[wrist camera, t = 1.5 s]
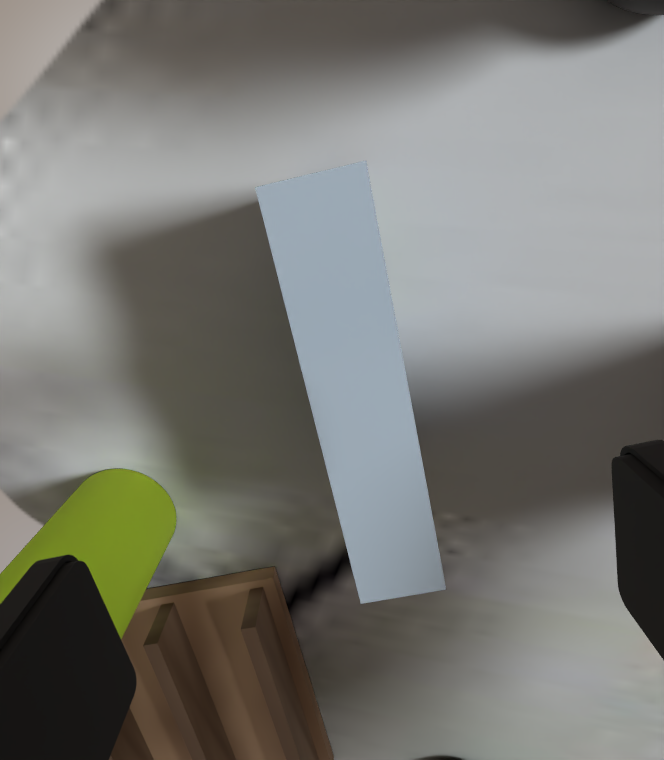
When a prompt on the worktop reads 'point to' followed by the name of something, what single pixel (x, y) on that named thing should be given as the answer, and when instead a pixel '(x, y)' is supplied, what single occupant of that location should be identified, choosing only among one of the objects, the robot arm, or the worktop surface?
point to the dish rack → (219, 675)
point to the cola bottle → (641, 6)
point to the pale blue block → (355, 375)
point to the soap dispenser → (106, 538)
